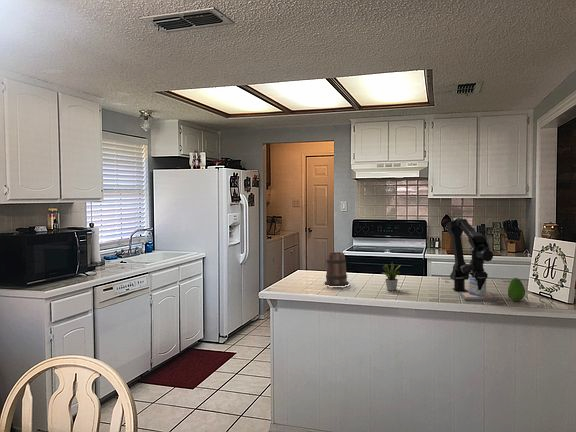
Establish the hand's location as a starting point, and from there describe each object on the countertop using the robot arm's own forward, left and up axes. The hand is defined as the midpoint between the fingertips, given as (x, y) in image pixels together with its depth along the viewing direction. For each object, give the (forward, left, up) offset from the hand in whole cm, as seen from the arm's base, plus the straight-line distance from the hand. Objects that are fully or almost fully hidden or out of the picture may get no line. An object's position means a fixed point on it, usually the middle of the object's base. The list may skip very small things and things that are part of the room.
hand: (477, 288), depth 257 cm
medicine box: (0, 0, -4) cm, 4 cm away
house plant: (-18, -45, -5) cm, 49 cm away
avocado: (+8, +17, -5) cm, 20 cm away
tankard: (-35, -76, -5) cm, 84 cm away
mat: (0, 0, -5) cm, 5 cm away
